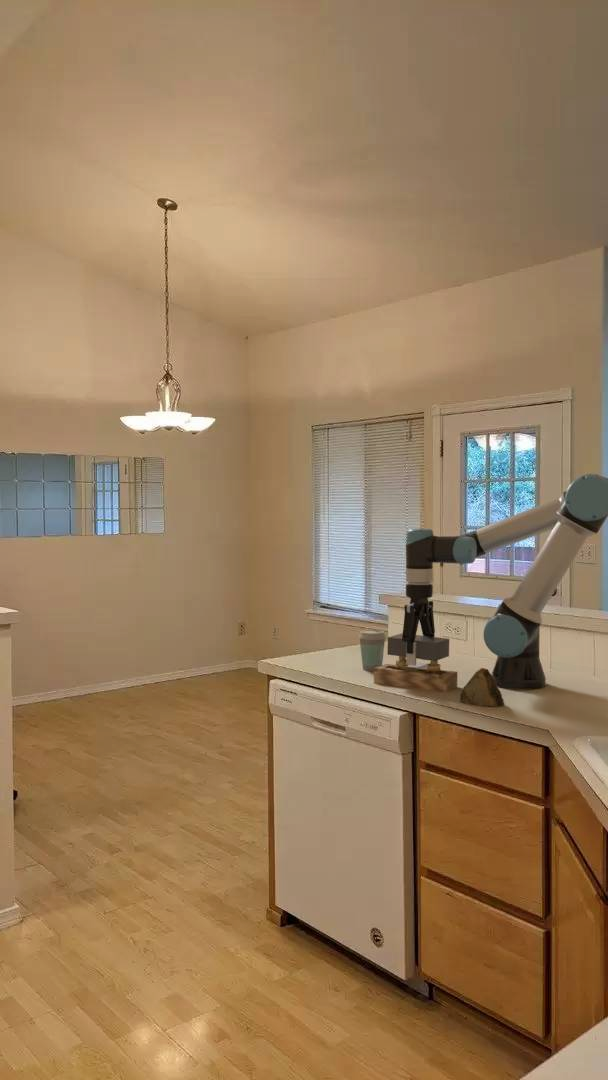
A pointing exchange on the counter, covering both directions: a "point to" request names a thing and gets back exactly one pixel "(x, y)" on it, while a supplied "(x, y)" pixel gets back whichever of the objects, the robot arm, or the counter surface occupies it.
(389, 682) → the brown long open box
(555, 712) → the counter surface
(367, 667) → the coffee cup
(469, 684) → the rock
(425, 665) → the small white cube
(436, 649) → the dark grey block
